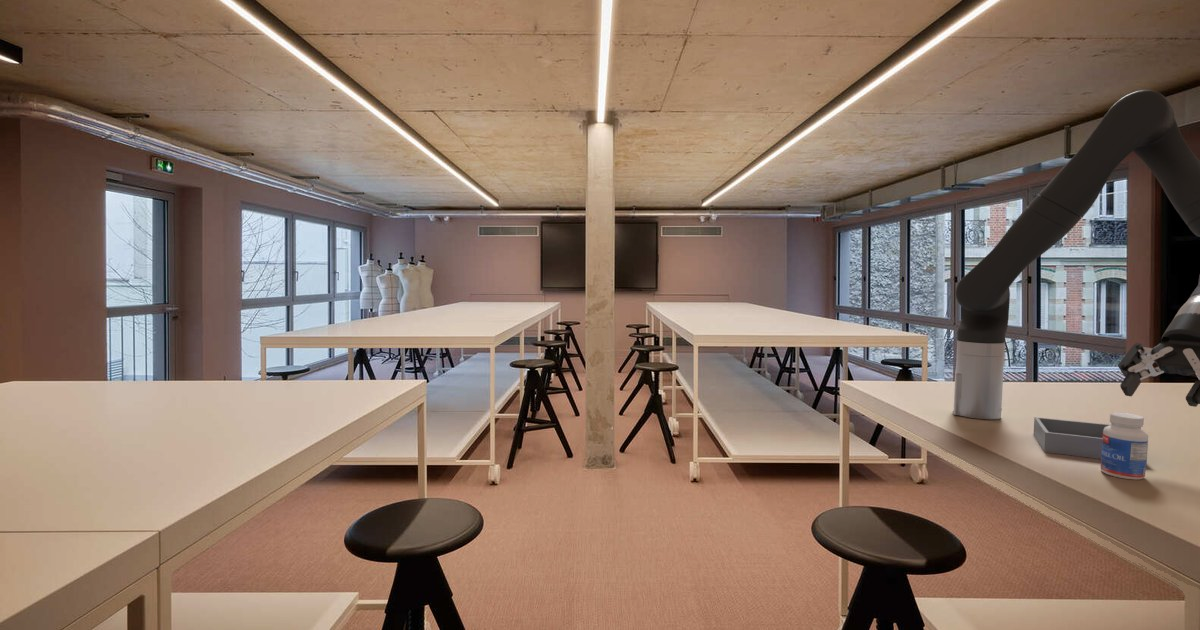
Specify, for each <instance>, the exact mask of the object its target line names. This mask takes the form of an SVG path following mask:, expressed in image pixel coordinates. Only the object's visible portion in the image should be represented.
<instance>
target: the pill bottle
mask: <svg viewBox="0 0 1200 630" xmlns="http://www.w3.org/2000/svg"><path fill="white" fill-rule="evenodd" d="M1144 420H1145V418H1144V416H1141V415H1138V414H1133V413H1126V412H1111V413H1110V414H1109V423H1110V424H1109V425H1110V426H1106V427H1105V428H1104V430H1103V440H1102V454H1101V459H1100V471H1101V472H1102V473H1104V474H1106V475H1109V476H1111V477H1115V478H1120V479H1125V480H1126V479H1127V480H1135V481H1136V480H1142V479H1143V480H1144V479H1145V477H1146V470H1147V465H1146V460H1147V461H1148V450H1147V448H1148V447H1149V435H1148V433H1147V432H1146V431H1144V430H1143V429H1142V428H1143V427H1144V426H1143V425H1144V424H1145V423H1144ZM1148 449H1149V448H1148Z"/></svg>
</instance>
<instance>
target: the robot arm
mask: <svg viewBox="0 0 1200 630" xmlns="http://www.w3.org/2000/svg"><path fill="white" fill-rule="evenodd" d="M1131 153H1133V154H1134V155H1136V156H1137V158H1139V159H1140V160H1141V161H1142V162H1143V163H1144V164H1145V165H1146V166H1147V168H1148V169H1149V171H1151V172H1152V174H1153V176H1154V177H1155V178H1156V180H1157V182H1158V183H1159V185H1160V186H1161V188H1162V189H1163V192H1164V193H1165V195H1166V196H1167V198H1168V200H1169V202H1170V203H1171V204H1172V206H1173V208H1174V209H1175V210H1176V212H1177V214H1178V215H1179V216H1180V218H1181V219H1182V221H1184V223H1185V224H1186V226H1187V227H1188V228H1189V230H1190V231H1191V232H1192V234H1194V235H1195V236H1196V237H1199V238H1200V159H1198V157H1197V156H1196V155H1195V153H1194V152H1193V151H1192V149H1191V148H1190V147H1189V145H1188V144H1187V142H1186V140H1185V138H1184V136H1183V134H1182V131H1181V130H1180V127H1179V126H1178V123H1177V121H1176V119H1175V112H1174V109H1173V107H1172V105H1171V103H1170V101H1169V100H1168V99H1167V98H1166V97H1165V96H1164V94H1162V93H1160V92H1158V91H1156V90H1152V89H1141V90H1137V91H1134V92H1131V93H1128V94H1126V95H1125V96H1123V97H1121V98H1120V99H1118V101H1116V102H1115V103H1113V105H1111V106H1110V108H1109V110H1108V111H1107V112H1106V114H1104V116H1103V117H1102V119H1101V120H1100V121H1099V123H1098V125H1096V127H1095V129H1094V130H1093V131H1092V133H1091V134H1090V136H1088V137H1087V140H1086V141H1085V142H1084V143H1083V145H1082V146H1081V147H1080V149H1078V151H1077V152H1076V153H1075V154H1074V155H1073V157H1072V158H1071V159H1069V160H1068V162H1067V163H1066V164H1065V165H1064V166H1063V167H1062V168H1061V169H1060V170H1059V171H1058V172H1057V174H1055V176H1054V177H1053V178H1051V180H1050V181H1049V182H1048V184H1046V185H1045V186H1044V188H1042V189H1041V191H1040V192H1039V193H1038V194H1037V195H1036V196H1035V197H1034V199H1033V200H1031V202H1030V203H1029V204H1028V205H1027V206H1026V208H1025V209H1024V210H1023V211H1022V212H1021V214H1020V215H1019V216H1018V218H1017V219H1015V221H1014V222H1013V223H1012V225H1011V226H1010V227H1009V228H1008V229H1007V231H1006V232H1005V234H1003V236H1002V237H1001V239H1000V240H999V242H998V243H997V244H996V246H994V247H993V249H991V251H990V252H989V253H988V254H986V255H985V257H984V258H982V259H981V261H980V262H978V263H977V264H976V265H975V266H974V267H973V268H971V270H969V272H967V273H966V274H965V275H964V276H963V277H962V278H960V280H959V282H958V283H957V286H956V289H955V298H956V301H957V303H958V305H960V306H961V308H962V309H961V310H962V311H961V312H962V313H961V321H960V324H959V327H958V329H957V333H956V360H955V371H954V388H953V389H954V392H953V393H954V394H953V415H955V416H961V417H964V418H965V417H966V418H970V419H971V418H972V419H980V420H999V419H1002V411H1003V408H1002V407H1003V406H1002V405H1003V384H1004V370H1005V369H1004V367H1005V346H1006V333H1007V330H1008V326H1009V316H1010V315H1009V312H1010V301H1011V300H1010V297H1011V291H1010V287H1011V286H1012V284H1013V283H1014V282H1015V281H1016V280H1017V278H1018V277H1019V275H1020V274H1021V273H1022V272H1023V271H1024V270H1025V269H1026V268H1027V267H1028V266H1029V265H1030V264H1031V263H1033V262H1034V261H1035V260H1037V259H1038V258H1040V257H1041V256H1042V255H1043V254H1044V253H1046V252H1047V251H1049V250H1050V249H1051V248H1052V247H1053V246H1055V245H1056V244H1058V242H1059V241H1060V240H1062V239H1063V238H1064V237H1065V236H1066V235H1067V234H1068V233H1069V232H1070V231H1072V230H1073V228H1074V227H1075V226H1076V225H1077V223H1079V222H1080V221H1081V220H1082V218H1084V216H1085V215H1086V214H1087V213H1088V211H1089V210H1090V209H1091V208H1092V206H1093V205H1094V204H1095V202H1096V200H1097V199H1098V197H1099V195H1100V194H1101V192H1102V191H1103V188H1104V186H1105V185H1106V183H1107V182H1108V180H1109V178H1110V177H1111V175H1112V174H1113V172H1114V171H1115V170H1116V169H1117V167H1118V166H1119V165H1120V164H1121V162H1123V161H1124V160H1125V159H1126V158H1127V156H1129V155H1130V154H1131ZM1154 363H1155V364H1156V365H1157V366H1156V367H1154V366H1153V364H1154ZM1117 367H1118V368H1119V370H1120V372H1121V373H1122V375H1123V376H1124V379H1123V380H1122V382H1121V383H1120V385H1119V386H1120V389H1121V390H1122V393H1123V394H1124V396H1126V397H1132V396H1133V395H1134V394H1135V392H1136V391H1137V389H1138V388H1139V386H1140V384H1141V383H1142V381H1143V380H1144V379H1147V378H1149V377H1157V376H1159V375H1161V374H1164V373H1165V374H1168V375H1175V374H1177V375H1181V376H1186V377H1189V376H1190V375H1196V377H1197V378H1198V380H1199V381H1198V380H1195V382H1194V383H1193V384H1192V386H1191V388H1190V389H1189V391H1188V392H1187V394H1186V396H1185V401H1186V403H1187V404H1188V406H1190V407H1195V408H1196V407H1198V405H1200V275H1199V276H1198V284H1197V286H1196V288H1195V289H1194V291H1192V293H1191V294H1190V296H1189V297H1188V299H1187V301H1186V302H1185V303H1183V305H1182V306H1181V307H1180V308H1179V309H1178V311H1177V313H1176V314H1175V316H1174V318H1173V319H1172V320H1171V322H1170V323H1169V325H1168V326H1167V328H1166V329H1165V331H1164V333H1163V334H1162V336H1161V338H1160V342H1159V343H1158V344H1157V345H1155V346H1154V347H1147V346H1146V347H1144V346H1143V344H1142V343H1141V342H1137V343H1134V344H1133V345H1132V346H1131V348H1130V349H1129V350H1128V351H1127V352H1126V354H1125V355H1124V356H1123V358H1122V359H1121V360H1120V361H1119V362H1118V364H1117Z"/></svg>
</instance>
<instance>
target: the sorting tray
mask: <svg viewBox="0 0 1200 630" xmlns="http://www.w3.org/2000/svg"><path fill="white" fill-rule="evenodd" d="M1033 418H1034V420H1033V436H1034V438H1035V439H1036V441H1037V443H1038V445H1039V446H1040V448H1041V449H1042V451H1043V452H1044V453H1051V454H1058V455H1068V456H1074V457H1081V458H1082V457H1083V458H1089V459H1090V458H1092V459H1098V460H1099V459H1100V460H1101V454H1102V440H1103V430H1104V428H1105V427H1106V426H1110V425H1111V424H1109V423H1108V424H1107V423H1106V424H1105V423H1096V422H1087V421H1076V420H1067V419H1058V418H1057V419H1056V418H1048V417H1037V416H1034V417H1033ZM1148 449H1149V448H1147V451H1148ZM1147 463H1148V459H1147V460H1146V466H1147V465H1148V464H1147Z"/></svg>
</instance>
